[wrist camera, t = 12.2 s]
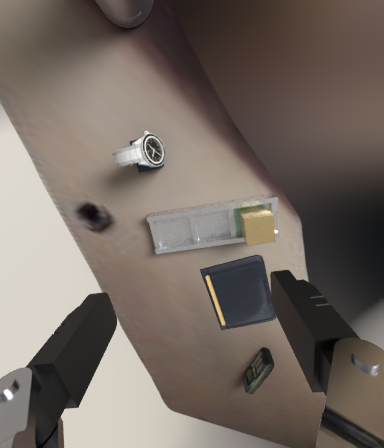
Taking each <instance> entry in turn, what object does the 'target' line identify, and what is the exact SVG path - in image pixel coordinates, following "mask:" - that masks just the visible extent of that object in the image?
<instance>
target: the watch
mask: <svg viewBox="0 0 384 448" xmlns="http://www.w3.org/2000/svg"><path fill="white" fill-rule="evenodd" d="M143 133H144V136H142V137H141V138H139V139H138V140H134V141H130V145H131V146H129V147H126V148H123V149H120V150H117V151H115V152H114V153H113V156H114V159H115V162H116V165H117V167H124V166H129V165H130V166H132V165H133V164H137V167H138V170H139V173H140V172H144V171H148V170H152V169H156V168H160V167H163V166H164V164H163V162H164V159H165V150H164V147H163V144H162V142H161V141H160V139H159V138H158V137H157V136H156V135H154V134H152V133H149V132H148V131H145V132H143Z"/></svg>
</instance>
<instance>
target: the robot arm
mask: <svg viewBox="0 0 384 448" xmlns="http://www.w3.org/2000/svg"><path fill="white" fill-rule="evenodd" d="M95 1H96V3H97V4H98V5H99V7H100V8H101V10H102V11H103V13H104V14H105V16H106V17H107V18H108V19H109V20H110V21H111V22H112V23H114V24H115V25H117V26H119V27H122V28H134V27H136V26H139V25H140V24H141V23H143V22H144V21H145V19H146V18H147V17H148V15H149V14H150V12H151V9H152V6H153V3H154V0H95ZM270 277H271V296H272V304H273V308H274V311H275V314H276V316H277V318H278V320H279V322H280V324H281V326H282V328H283V330H284V333H285V335H286V337H287V339H288V341H289V343H290V345H291V347H292V349H293V352H294V354H295V356H296V358H297V360H298V362H299V364H300V366H301V369H302V371H303V373H304V375H305V377H306V379H307V381H308V383H309V385H310V388H311V390H312V392H324V393H325V395H326V401H325V407H324V412H323V413H322V416H321V421H320V427H319V432H318V438H317V444H316V448H384V350H383V349H382V348H380V347H379V346H377V345H375V344H373V343H371V342H369V341H366V340H363V339H360V338H359V337H358V336H357V334H356V333H355V332H354V331H353V330H352V328H351V327H350V326H349V325H348V324H347V323H346V322H345V320H344V319H343V318H342V317H341V316H340V315H339V313H338V312H337V311H336V310H335V309H334V308H333V307H332V305H330V304H329V302H328V301H327V300H326V299H325V297H323V295H322V294H321V293H320V292H319V290H318V289H317V288H316V287H315V286H314V285H312V284H310V283H309V282H307V281H305V280H296V278H295V277H294V276H293V275H292V273H291V272H290V271H289V270H282V271H274V272H271V275H270ZM116 326H117V317H116V314H115V311H114V309H113V306H112V303H111V301H110V298H109V296H108V294H107V293H106V292H104V293H96V294H90V295H88V296H87V297H86V299H85V300H84V301H83V303H82V304H81V305H80V306H79V307H77V308H76V309H75V310H74V311H72V312H71V313H70V314H69V315H68V316H67V317H66V319H65V320H64V321H63V322H62V323H61V326H59V327H58V328H57V329H56V331H55V332H54V334H52V336H51V337H50V338H49V339H48V341H47V342H46V343H45V344H44V346H43V347H42V348H41V349H40V350H39V352H38V353H37V354H36V355H35V356H34V358H33V359H32V360H31V361H30V363H29V364H28V365H27V366H26V367H25V368H20V369H17V370H14V371H12V372H10V373H8V374H7V375H5V376H4V377H2V378H1V379H0V448H64V436H63V421H62V419H61V415H62V413H63V411H64V409H66V408H78V407H79V405H80V403H81V401H82V399H83V396H84V394H85V392H86V390H87V388H88V386H89V384H90V382H91V380H92V378H93V376H94V373H95V371H96V369H97V367H98V365H99V363H100V361H101V359H102V357H103V355H104V353H105V350H106V348H107V346H108V344H109V342H110V340H111V338H112V336H113V334H114V331H115V329H116Z"/></svg>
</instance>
